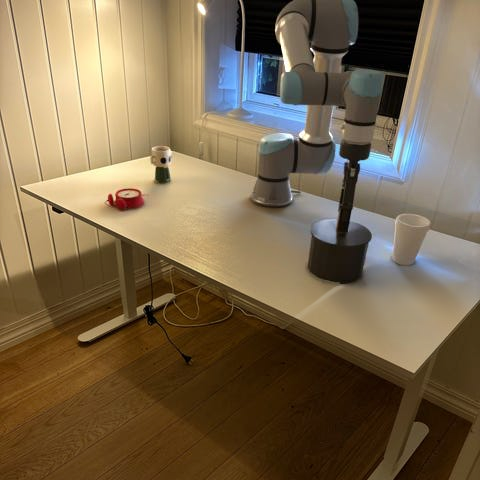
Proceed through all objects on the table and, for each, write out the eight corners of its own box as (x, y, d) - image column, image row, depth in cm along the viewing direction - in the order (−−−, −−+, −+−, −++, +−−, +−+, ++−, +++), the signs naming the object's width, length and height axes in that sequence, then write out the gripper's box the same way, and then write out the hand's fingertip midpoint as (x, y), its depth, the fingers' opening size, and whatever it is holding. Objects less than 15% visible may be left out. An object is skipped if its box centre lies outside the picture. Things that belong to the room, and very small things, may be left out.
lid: (330, 218, 143) (334, 189, 138) (381, 235, 135) (388, 206, 130) (297, 235, 133) (301, 205, 128) (351, 256, 124) (357, 224, 119)
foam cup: (401, 270, 141) (412, 229, 134) (380, 256, 148) (389, 216, 140) (425, 263, 145) (437, 223, 137) (404, 250, 152) (414, 211, 144)
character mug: (158, 187, 189) (156, 153, 182) (146, 182, 193) (144, 149, 185) (178, 180, 196) (177, 147, 189) (167, 176, 200) (165, 143, 192)
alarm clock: (151, 193, 173) (116, 194, 163) (149, 210, 176) (114, 212, 165) (134, 185, 179) (99, 186, 168) (132, 202, 182) (97, 204, 171)
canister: (325, 252, 149) (331, 217, 142) (371, 269, 141) (379, 233, 134) (296, 270, 139) (300, 233, 132) (344, 290, 131) (351, 252, 124)
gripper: (341, 127, 129) (330, 202, 142) (340, 154, 109) (327, 239, 122) (370, 129, 128) (356, 205, 141) (373, 157, 108) (357, 242, 121)
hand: (342, 221), depth 131 cm, fingers open, 13 cm apart
